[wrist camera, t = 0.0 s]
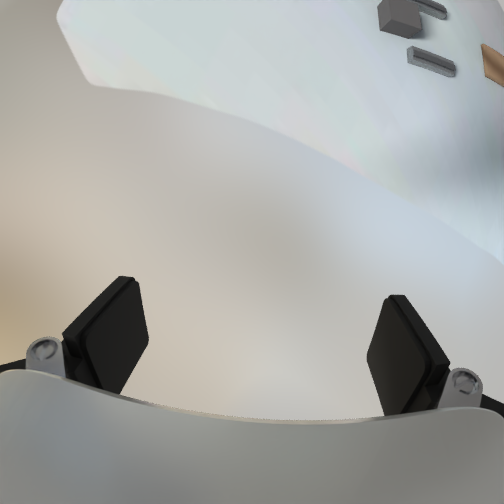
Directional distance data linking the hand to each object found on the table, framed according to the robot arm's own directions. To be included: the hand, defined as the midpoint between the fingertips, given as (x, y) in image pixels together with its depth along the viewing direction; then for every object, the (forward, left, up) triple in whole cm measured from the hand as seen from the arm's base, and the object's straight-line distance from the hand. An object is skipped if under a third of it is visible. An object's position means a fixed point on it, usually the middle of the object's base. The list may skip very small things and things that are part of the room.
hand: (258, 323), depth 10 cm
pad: (-30, +41, -31) cm, 60 cm away
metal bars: (-30, +24, -31) cm, 49 cm away
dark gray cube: (-30, +18, -31) cm, 47 cm away
